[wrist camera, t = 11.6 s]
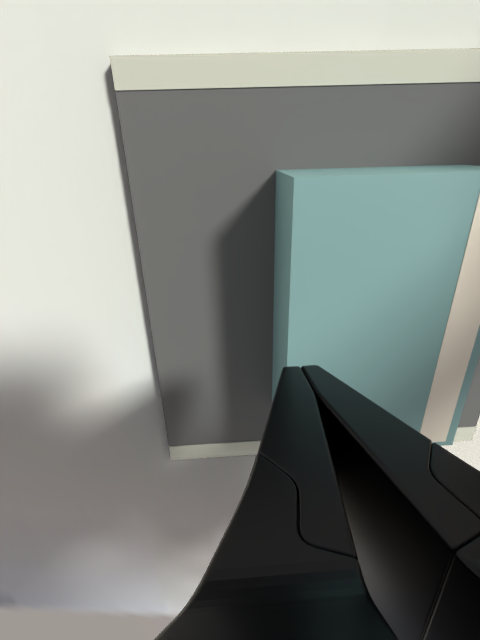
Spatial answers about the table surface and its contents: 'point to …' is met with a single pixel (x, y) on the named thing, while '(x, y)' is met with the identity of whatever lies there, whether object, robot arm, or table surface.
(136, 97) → the mat
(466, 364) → the block
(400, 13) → the table surface
